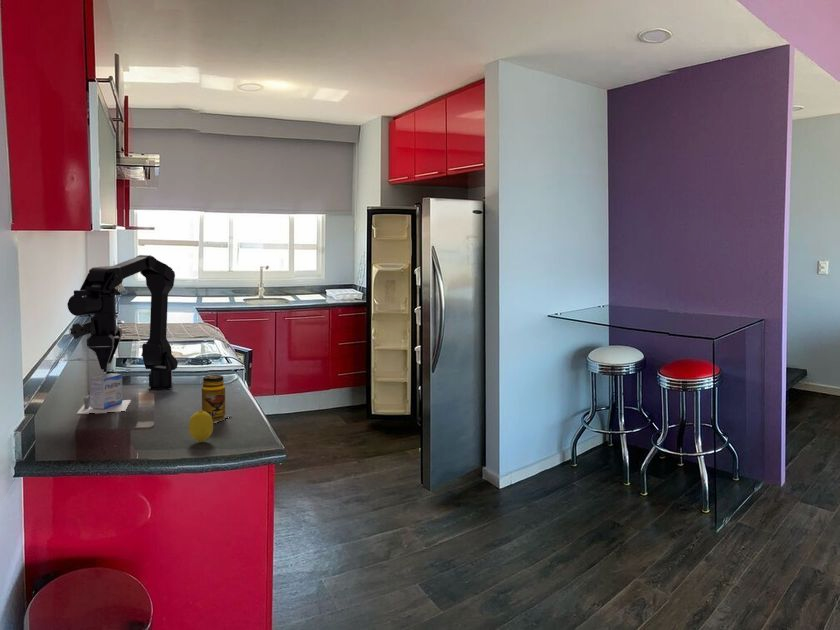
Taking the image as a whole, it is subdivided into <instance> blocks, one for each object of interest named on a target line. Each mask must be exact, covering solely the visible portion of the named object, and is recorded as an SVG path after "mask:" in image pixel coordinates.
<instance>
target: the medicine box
mask: <svg viewBox="0 0 840 630" xmlns="http://www.w3.org/2000/svg"><path fill="white" fill-rule="evenodd" d="M89 395H90V407H91V408H96V409H107V408H109V407H112V406H115V405H118V404H120V403H122V400H123V374H121V373H107V374H103V375H99V376H95V377H93V378H90V379H89Z"/></svg>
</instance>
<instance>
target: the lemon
mask: <svg viewBox="0 0 840 630" xmlns="http://www.w3.org/2000/svg"><path fill="white" fill-rule="evenodd" d="M213 430H214V424H213V420H212V417H211V416H210V414H208V413H207V412H205V411H203V410H202V409H199V410H198V411H196V412H195V413H193V414H192V415H191V417H190V419H189V422H188V431H189V435H190V436H191V438H193V439H194V440H196V441H198V442H199V443H203V442H204V441H205V440H207V439H209V438H210V436H211V435H212V434H213Z"/></svg>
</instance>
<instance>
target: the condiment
mask: <svg viewBox="0 0 840 630" xmlns="http://www.w3.org/2000/svg"><path fill="white" fill-rule="evenodd" d="M224 383H225V382H224V376H223V375H222V374H209V375H205V376H203V378H202V387H201V410H203V411H205V412H207V413H208V414H210V416H211V417H212V420H213V422H215V421H220V420H223V419H225V415H226V386H225V385H224ZM228 419H230V418H229V417H228Z"/></svg>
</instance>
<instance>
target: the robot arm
mask: <svg viewBox="0 0 840 630" xmlns="http://www.w3.org/2000/svg"><path fill="white" fill-rule="evenodd" d="M139 273H140V274H141V275H142V276H143V278H145V284H146V287H147V289H148V291H149V292H150V294H151V295H150V321H149V339H148V340H147V341H146V343H142V345H141V348H142V349H141V350H142V352H141V357H142V361H143V364H144V368H145V370H150V372H149V373H148V387H149V390H168V389H169V390H170V389H173V386H174V382H173V371H175V370H176V369H178V365H179V364H178V363H179V362H178V360H177V359H176V357H175V356H174V355H173V353H172V352H173V351H172V346H171V344H170V342H169V340H168V339H167V334H168V333H167V332H168V331H167V328H168V302H169V300H168V299H169V294H170V292H171V290H173V288H174V285H175V279H176V274H175V273H176V272H175V271H174V270H173V268H172V267H171V266H169V265H168V264H166V263H164V262H161V261H160V260H158V259H157V258H156V257H154V256H153V255H149V254H148V255H147V254H139V255H136V257H133V258H129V259H128V260H124V261H122V262H119V263H117V264H114V265H109V266H108V265H107V266H105V265H104V266H97V267H96V266H95V267H91V268H90V269H89V270H88V273H87V275H86V277H85V279H84V281H83V283H82V285H81V287H80V289H79V290H77V289H76V290H73V295H71V296H70V297H69V300H68V302H67V309H68V311H69V312H70V314H71V315H73V316H75V317H79V316H88V315H92V316H91V317H90V320H89V321H86V322H84V323H81V322H76V323H74V324H72V327H70V328H69V330H70V335H72V337H73V339H74V340H77V339H80V337H83V336H86V335H90V336H89V337H88V338H87V339H86V347H88V349H89V350H91V351H93V352H94V353H95V355H96V357H97V362H98V364H99V367H100V370H101V371H103V370H106V369H107V367H108V364H112V362H113V360H114V356H115V354H116V351H117V349H118V347H119V344H120V341H121V340H122V336H123V330H122V328H120V327H119V326H117V319H118V314H117V311H116V296H120V295H121V291H119V290H117V289H116V288H117V287H118V286H120V285H121V284H122V283H123V281H124V279H126V278H129V277H131V276H133V275H136V274H139Z"/></svg>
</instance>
